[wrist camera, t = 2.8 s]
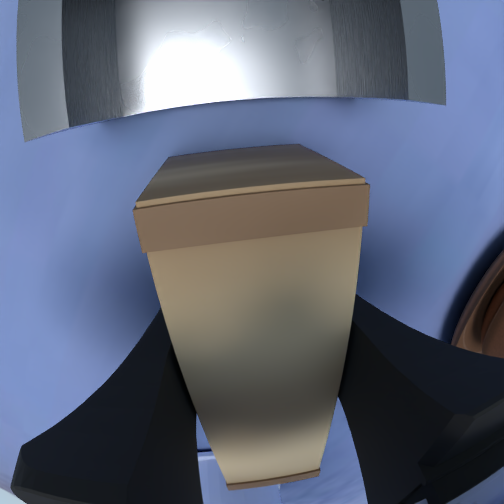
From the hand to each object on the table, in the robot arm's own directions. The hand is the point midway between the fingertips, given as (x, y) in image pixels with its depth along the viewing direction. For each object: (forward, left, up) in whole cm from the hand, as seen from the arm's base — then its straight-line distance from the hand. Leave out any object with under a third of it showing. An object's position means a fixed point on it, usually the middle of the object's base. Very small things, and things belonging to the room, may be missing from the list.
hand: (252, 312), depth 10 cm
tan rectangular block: (-2, 0, -1) cm, 2 cm away
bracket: (+10, 0, -1) cm, 10 cm away
